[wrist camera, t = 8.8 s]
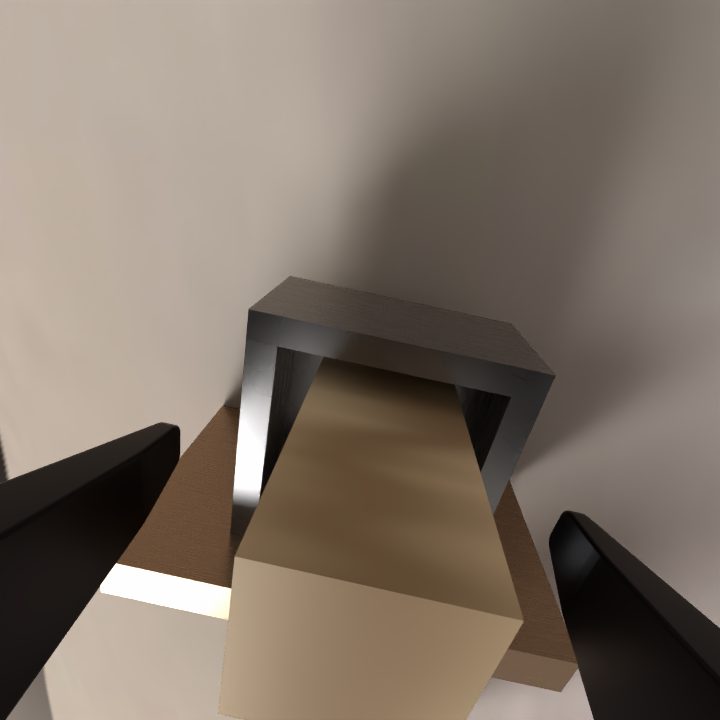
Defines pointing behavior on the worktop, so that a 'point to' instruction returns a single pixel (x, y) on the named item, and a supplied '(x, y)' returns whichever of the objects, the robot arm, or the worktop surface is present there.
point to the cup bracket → (275, 420)
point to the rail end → (369, 562)
